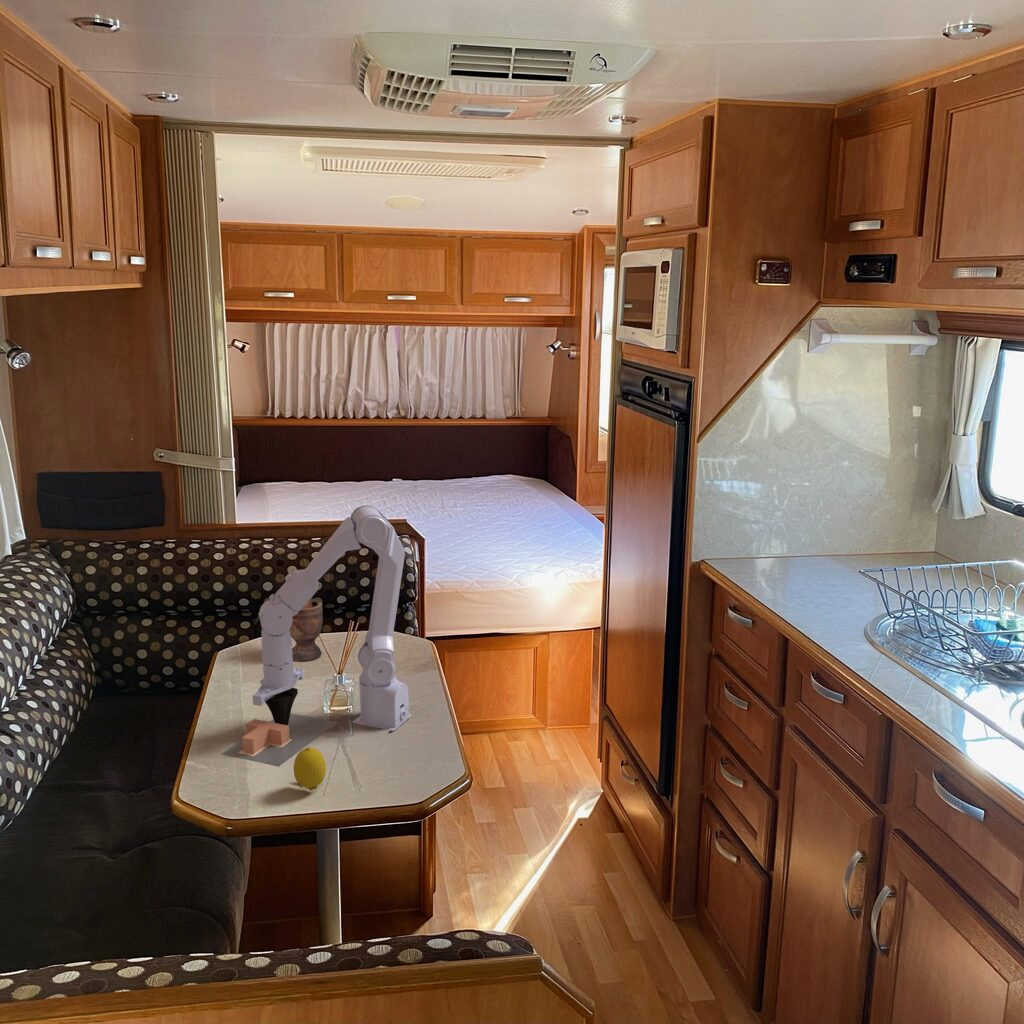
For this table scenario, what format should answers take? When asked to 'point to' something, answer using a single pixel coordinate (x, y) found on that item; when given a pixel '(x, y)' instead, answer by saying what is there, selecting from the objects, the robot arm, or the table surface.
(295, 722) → the slate board
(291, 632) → the mortar and pestle
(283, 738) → the t block
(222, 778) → the table surface
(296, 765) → the lemon
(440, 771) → the table surface
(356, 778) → the table surface
